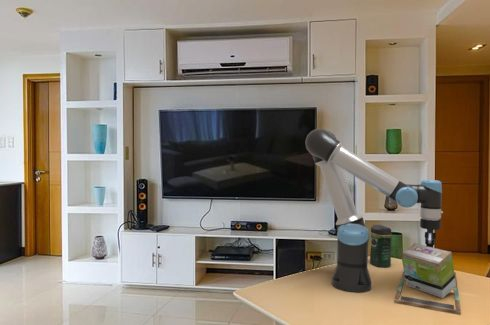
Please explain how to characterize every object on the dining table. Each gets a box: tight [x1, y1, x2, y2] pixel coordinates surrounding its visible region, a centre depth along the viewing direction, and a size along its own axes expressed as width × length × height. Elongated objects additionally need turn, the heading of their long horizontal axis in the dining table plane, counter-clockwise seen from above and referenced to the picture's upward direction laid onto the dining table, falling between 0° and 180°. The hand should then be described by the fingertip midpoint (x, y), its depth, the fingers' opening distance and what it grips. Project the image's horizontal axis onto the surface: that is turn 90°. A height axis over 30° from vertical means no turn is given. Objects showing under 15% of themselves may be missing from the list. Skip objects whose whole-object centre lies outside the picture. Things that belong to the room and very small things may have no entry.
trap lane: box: [393, 270, 462, 316], centre depth 151 cm, size 20×47×1 cm, turn 153°
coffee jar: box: [369, 224, 393, 268], centre depth 180 cm, size 10×8×19 cm
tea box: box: [401, 243, 456, 299], centre depth 146 cm, size 15×10×15 cm
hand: (429, 276), depth 154 cm, fingers closed
